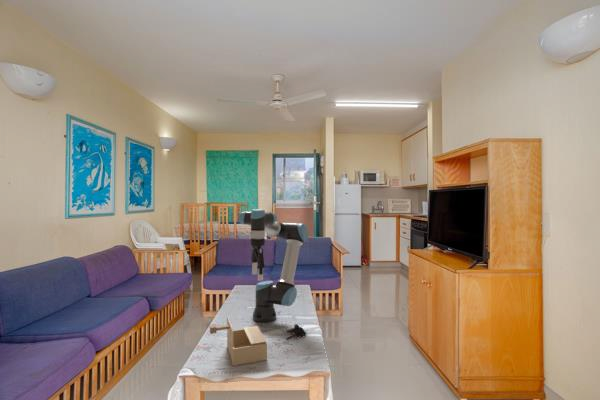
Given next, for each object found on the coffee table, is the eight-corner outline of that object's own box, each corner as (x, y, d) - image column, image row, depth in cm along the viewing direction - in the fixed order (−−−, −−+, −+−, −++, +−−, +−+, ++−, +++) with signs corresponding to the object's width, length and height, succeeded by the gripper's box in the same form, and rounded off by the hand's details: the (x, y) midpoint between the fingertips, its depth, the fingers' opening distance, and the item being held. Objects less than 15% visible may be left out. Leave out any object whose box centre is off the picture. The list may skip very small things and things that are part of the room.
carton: (227, 346, 161) (227, 329, 161) (257, 341, 166) (257, 325, 166) (233, 366, 142) (233, 347, 142) (266, 360, 148) (267, 341, 148)
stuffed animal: (308, 328, 182) (305, 323, 172) (306, 346, 177) (303, 342, 167) (288, 326, 184) (285, 321, 174) (286, 344, 179) (282, 340, 169)
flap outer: (227, 330, 160) (208, 333, 157) (227, 316, 160) (208, 319, 157) (233, 347, 143) (212, 351, 139) (233, 331, 142) (211, 334, 139)
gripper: (246, 235, 177) (245, 272, 177) (256, 241, 154) (255, 283, 154) (259, 235, 180) (258, 271, 180) (270, 240, 157) (270, 282, 157)
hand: (257, 277), depth 167 cm, fingers open, 13 cm apart
